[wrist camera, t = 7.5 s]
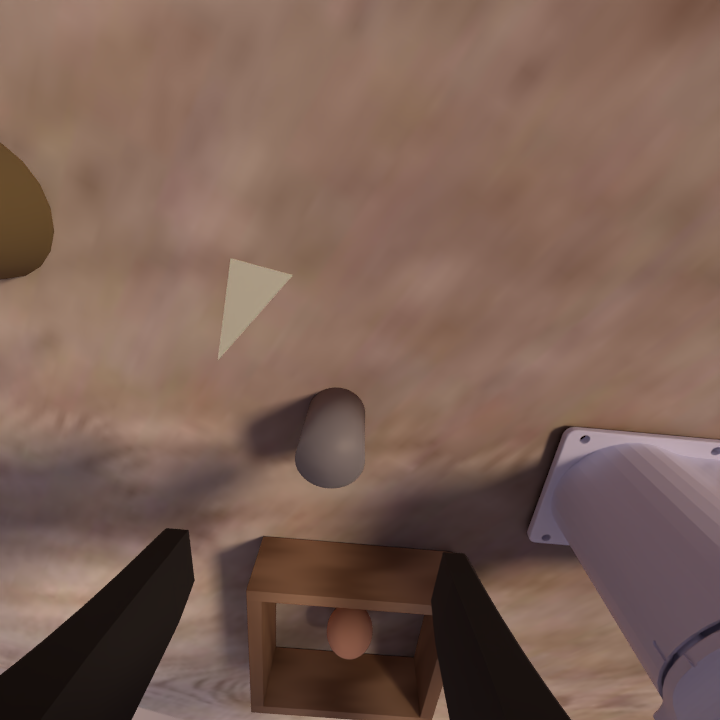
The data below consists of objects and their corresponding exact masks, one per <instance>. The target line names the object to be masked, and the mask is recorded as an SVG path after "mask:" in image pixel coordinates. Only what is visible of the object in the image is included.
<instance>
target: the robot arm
mask: <svg viewBox="0 0 720 720" xmlns="http://www.w3.org/2000/svg"><path fill="white" fill-rule="evenodd" d="M585 435H586V436H585ZM582 436H585V437H584V438H583V439H580V438H581V437H582ZM527 535H528V537H529V539H530V540H531V541H532V542H536V543H547V544H559V545H570V546H571V548H572V550H573V551H574V553H575V555H576V556H577V558H578V560H579V561H580V563H581V565H582V566H583V568H584V570H585V571H586V573H587V575H588V576H589V578H590V580H591V581H592V583H593V585H594V586H595V588H596V590H597V591H598V593H599V594H600V596H601V598H602V599H603V601H604V603H605V604H606V606H607V608H608V609H609V611H610V613H611V614H612V616H613V618H614V619H615V621H616V623H617V624H618V626H619V628H620V629H621V631H622V633H623V634H624V636H625V638H626V639H627V641H628V643H629V644H630V646H631V647H632V649H633V651H634V652H635V654H636V656H637V657H638V659H639V661H640V662H641V664H642V666H643V667H644V669H645V671H646V672H647V674H648V676H649V677H650V679H651V681H652V682H653V684H654V686H655V687H656V689H657V691H658V692H659V694H660V696H661V697H662V699H663V702H662V705H661V706H660V708H659V709H658V710H657V711H656V712H655V713H654V715H653V717H654V719H655V720H720V440H716V439H704V438H693V437H682V436H671V435H660V434H649V433H638V432H627V431H615V430H604V429H593V428H582V427H570V428H568V429H567V430H565V431H564V433H563V435H562V438H561V440H560V443H559V446H558V449H557V451H556V454H555V457H554V459H553V462H552V465H551V468H550V470H549V473H548V476H547V479H546V481H545V484H544V487H543V490H542V492H541V495H540V498H539V501H538V503H537V506H536V509H535V512H534V514H533V517H532V520H531V522H530V525H529V528H528V531H527ZM194 581H195V580H194V572H193V564H192V555H191V547H190V539H189V531H188V530H181V529H169V528H167V529H165V530H164V531H163V532H162V533H161V534H160V535H158V536H157V537H156V538H155V539H154V540H153V541H152V542H151V543H150V544H149V545H148V546H147V547H146V548H145V549H144V550H143V551H142V552H141V553H140V554H139V555H138V556H137V557H136V558H135V559H134V560H133V561H131V562H130V563H129V564H128V565H127V566H126V567H125V568H124V569H123V570H122V571H121V572H120V573H119V574H118V575H117V576H116V577H115V578H113V579H112V580H111V581H110V582H109V583H108V584H107V585H106V586H105V587H104V588H103V589H101V590H100V591H99V592H98V593H97V594H96V595H95V596H94V597H93V598H92V599H90V600H89V601H88V602H87V603H86V604H85V605H84V606H83V607H82V608H80V609H79V610H78V611H77V612H76V613H75V614H74V615H72V616H71V617H70V618H69V619H68V620H67V621H65V622H64V623H63V624H62V625H61V626H60V627H58V628H57V629H56V630H55V631H54V632H53V633H51V634H50V635H49V636H48V637H47V638H46V639H44V640H43V641H42V642H41V643H40V644H38V645H37V646H36V647H35V648H34V649H32V650H31V651H30V652H29V653H27V654H26V655H25V656H24V657H23V658H21V659H20V660H19V661H18V662H16V663H15V664H14V665H13V666H11V667H10V668H9V669H7V670H6V671H5V672H4V673H2V674H1V675H0V720H132V718H133V716H134V714H135V712H136V710H137V707H138V705H139V703H140V701H141V699H142V697H143V695H144V693H145V691H146V689H147V687H148V685H149V683H150V681H151V679H152V677H153V675H154V673H155V671H156V669H157V667H158V665H159V663H160V661H161V659H162V657H163V654H164V652H165V650H166V648H167V646H168V644H169V642H170V640H171V638H172V636H173V634H174V632H175V630H176V627H177V625H178V623H179V621H180V618H181V616H182V613H183V610H184V608H185V605H186V603H187V600H188V597H189V594H190V592H191V589H192V586H193V583H194ZM431 607H432V618H433V628H434V637H435V645H436V651H437V656H438V661H439V667H440V672H441V677H442V682H443V687H444V693H445V698H446V703H447V708H448V713H449V718H450V720H571V719H570V717H569V716H568V715H567V713H566V712H565V711H564V709H563V708H562V707H561V705H560V704H559V702H558V701H557V700H556V698H555V697H554V696H553V694H552V693H551V691H550V690H549V688H548V687H547V686H546V684H545V683H544V681H543V680H542V678H541V677H540V675H539V674H538V673H537V671H536V670H535V668H534V667H533V665H532V664H531V662H530V661H529V659H528V658H527V656H526V655H525V653H524V652H523V650H522V649H521V647H520V646H519V644H518V642H517V641H516V639H515V638H514V636H513V634H512V633H511V631H510V630H509V628H508V627H507V625H506V623H505V622H504V620H503V619H502V617H501V615H500V614H499V612H498V610H497V609H496V607H495V605H494V604H493V602H492V600H491V598H490V597H489V595H488V593H487V592H486V590H485V588H484V586H483V585H482V583H481V581H480V579H479V578H478V576H477V574H476V572H475V570H474V569H473V567H472V565H471V563H470V561H469V559H468V557H467V556H466V555H465V554H462V553H450V552H443V554H442V558H441V562H440V566H439V570H438V574H437V578H436V582H435V586H434V590H433V594H432V598H431Z"/></svg>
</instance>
